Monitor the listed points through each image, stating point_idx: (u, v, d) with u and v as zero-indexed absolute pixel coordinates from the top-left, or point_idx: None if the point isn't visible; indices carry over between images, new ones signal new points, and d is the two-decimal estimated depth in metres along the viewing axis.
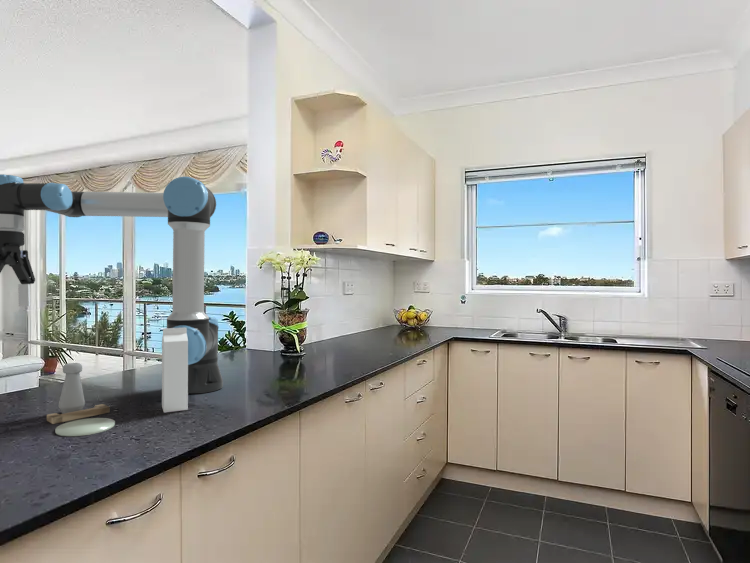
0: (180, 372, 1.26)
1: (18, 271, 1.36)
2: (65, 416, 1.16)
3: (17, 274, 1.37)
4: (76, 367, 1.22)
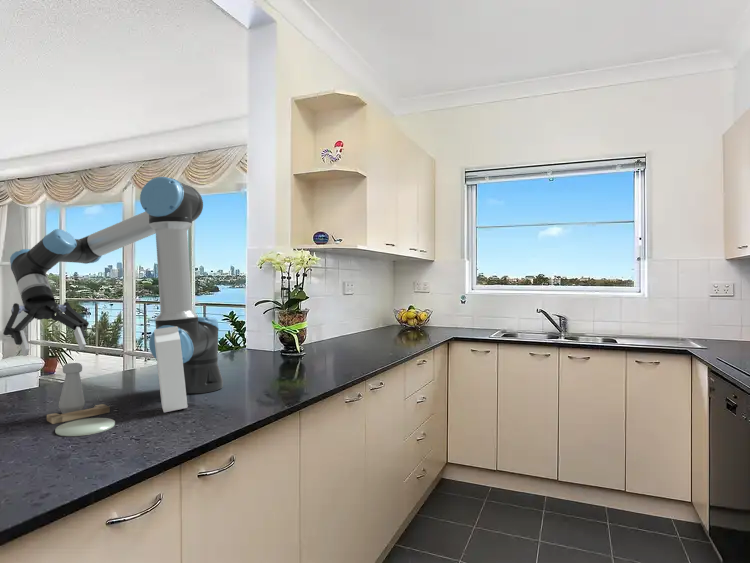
0: (175, 371, 1.26)
1: (64, 321, 1.37)
2: (65, 416, 1.16)
3: (66, 324, 1.38)
4: (76, 367, 1.22)
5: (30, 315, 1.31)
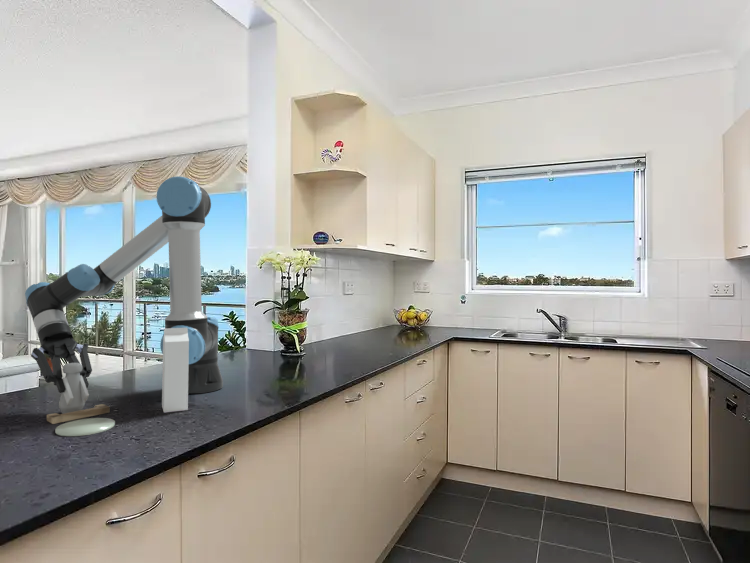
0: (180, 372, 1.26)
1: None
2: (65, 416, 1.16)
3: None
4: (77, 367, 1.22)
5: (57, 357, 1.24)
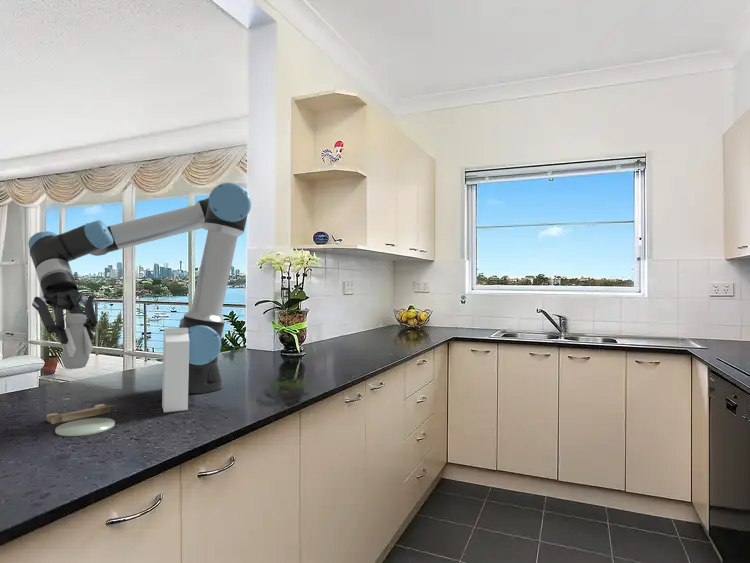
0: (180, 372, 1.26)
1: None
2: (65, 416, 1.16)
3: None
4: (80, 318, 1.13)
5: (60, 307, 1.16)
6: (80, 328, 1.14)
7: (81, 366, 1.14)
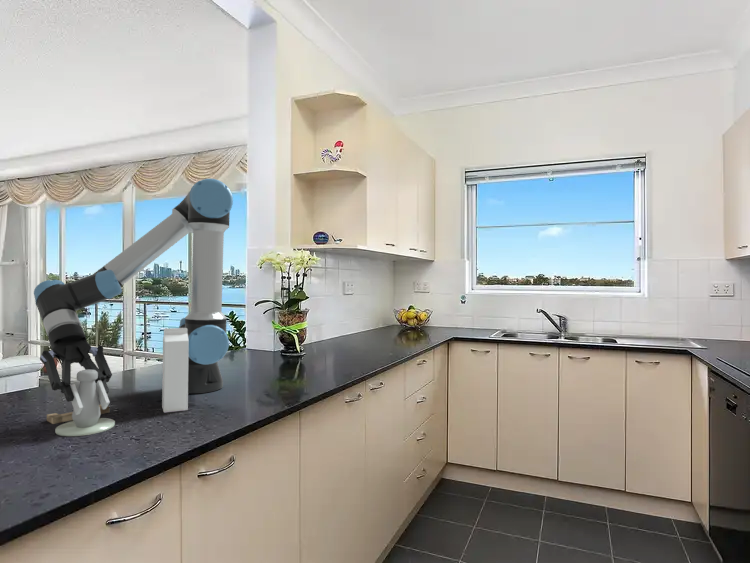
0: (180, 372, 1.27)
1: (88, 368, 1.16)
2: (65, 416, 1.16)
3: None
4: (92, 374, 1.11)
5: (68, 362, 1.12)
6: (92, 385, 1.11)
7: (93, 424, 1.11)
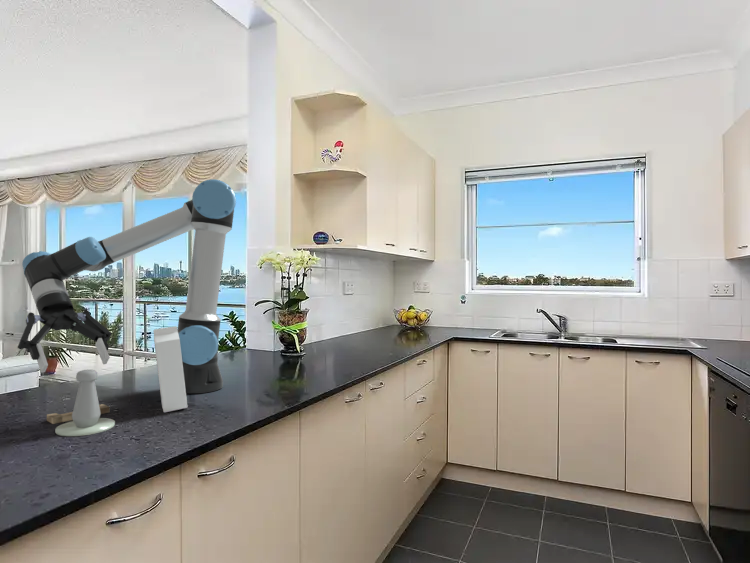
0: (175, 371, 1.26)
1: (84, 331, 1.22)
2: (65, 416, 1.16)
3: (87, 335, 1.23)
4: (92, 375, 1.11)
5: (47, 326, 1.16)
6: (92, 385, 1.11)
7: (93, 424, 1.11)
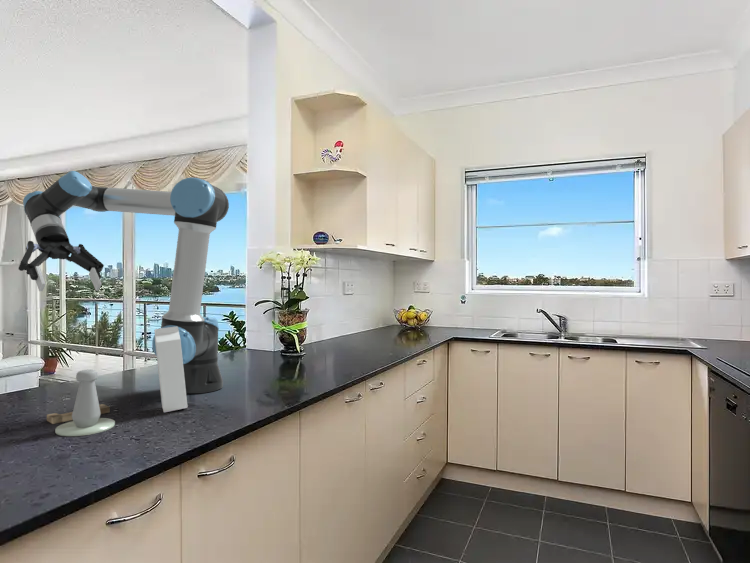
0: (175, 371, 1.26)
1: (78, 261, 1.35)
2: (65, 416, 1.16)
3: (81, 265, 1.35)
4: (92, 375, 1.11)
5: (45, 253, 1.28)
6: (92, 385, 1.11)
7: (93, 424, 1.11)
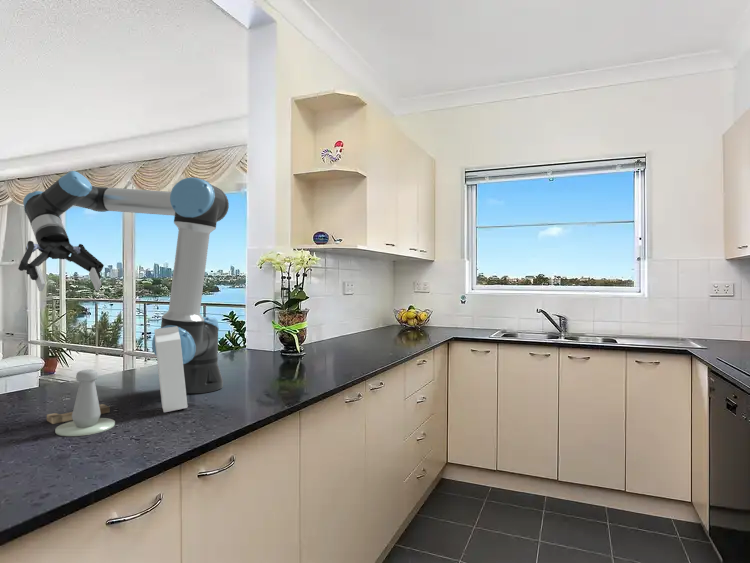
0: (175, 371, 1.26)
1: (78, 261, 1.35)
2: (65, 416, 1.16)
3: (81, 265, 1.35)
4: (92, 375, 1.11)
5: (45, 253, 1.28)
6: (92, 385, 1.11)
7: (93, 424, 1.11)
